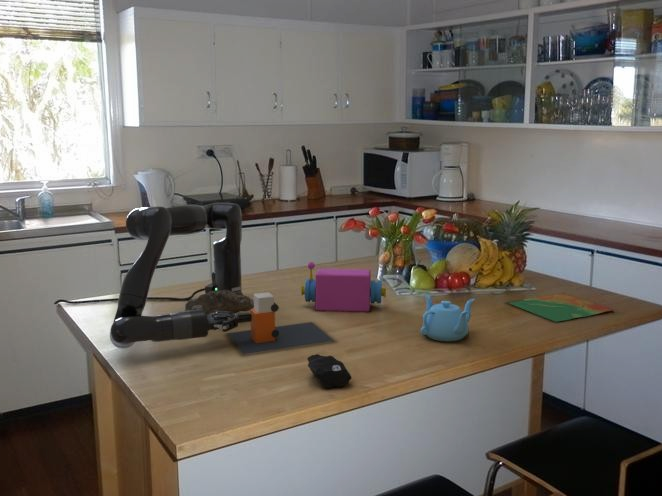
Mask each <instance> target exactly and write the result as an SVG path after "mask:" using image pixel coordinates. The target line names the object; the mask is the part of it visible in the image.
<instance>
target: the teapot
mask: <svg viewBox="0 0 662 496" xmlns="http://www.w3.org/2000/svg"><path fill="white" fill-rule="evenodd" d="M424 297H425V299H426V308H425V312H424V313H423V314H422V327H421V328H420V334H421V335H424V336H426V337H428V338H429V339H430V340H434V341H439V342H456V341H461V340H462V339H464V338H465V337H466V336H467V335H468V333H469V322H470V320H471V316H472V315H471V314H472V313H471V312H472V311H471V310H472V304H473V302H474V301H475V299H476V298H473V297H472V298H470V299H469V300H467V302H466V303H465V305H464V309H463V310H462V309H461V308H460V306H459V305H457V304H453V303H452V302H451V301H450V300H442V301H441V302H440V303H435V304H434V303H433V300H432V298H431V296H430V295H428V294H427V293H425V294H424Z"/></svg>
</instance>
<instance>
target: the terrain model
mask: <svg viewBox="0 0 662 496" xmlns="http://www.w3.org/2000/svg"><path fill="white" fill-rule="evenodd" d="M508 304H509V305H511V306H514V307H517V308H519V309H522V310H524V311H526V312H530V313H532V314H535V315H537V316H540V317H542V318H545V319H547V320H549V321H552V322H557V323H559V322H562V321H570V320H572V319H576V318H586V317H591V316H593V315H598V314H602V313H606V312H611V311H615V308H611V307H608V306H605V305H603V304H599V303H596V302H593V301H589V300H586V299H584V298H582V297H579V296H578V297H577V296H575V295H571V294H569V293H566V292H560V293H554V294H547V295H541V296H535V297H531V298H524V299H522V300H517V301H510V302H508Z"/></svg>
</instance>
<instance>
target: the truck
mask: <svg viewBox="0 0 662 496" xmlns="http://www.w3.org/2000/svg"><path fill="white" fill-rule="evenodd" d="M253 302H254V308H253V309H250V310H249V311H250V312H249V313H250V314H251V315H252V321H251V322H250V330H251V338H252V339H253V341H254V342H255V343H263V342H270V341H275V337H277V336H278V335H279V331H278V330H277V329H276V328H275V327H276V312H278V310H279V308H280V307H279V305H278V303H276V302H275V297H274V295H273V294H271V292H269V291H267V292H258V293H253Z"/></svg>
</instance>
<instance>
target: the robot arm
mask: <svg viewBox="0 0 662 496" xmlns="http://www.w3.org/2000/svg"><path fill="white" fill-rule="evenodd" d="M125 229H126V231H127V233H128V234H129V235H130V236H131V237H132V238H133V239H135V240H139V241H146V245H145V246H144V249H143V251H142V252H141V253H140V255H139V257H138V258H137V259H136V261H135V262H134V263H133V264H132V265H131V267H130V268H129V269H128V271H127V272H126V274H125V276H124V277H123V281H122V284H121V287H120V291H119V295H118V297H116V298H115V297H114V298H102V299H101V298H100V299H89V300H73V301H72V300H67V299H58V300H56V301H55V302H54V303H53V305H57V304H59V303H66V304H71V305H74V304H76V305H78V304H89V303H102V302H103V303H105V302H117V308H116V312H115V315H114V318H113V321H112V324H111V326H110V330H109V340H110V343H111V344H112V345H113V346H114V347H116V348H118V349H121V350H122V349H124V350H125V349H128V348H130V347H132V346H133V345H134V344H135V343H137V342H138V343H139V342H140V343H141V342H149V341H150V342H153V343H160V342H169V341H184V340H191V339H192V340H193V339H200V338H206V337H208V335H209V331H210V330H211V331H212V330H213V331H221V330H222V331H221V332H223V333H226V332H229V331H231V330H234V329H235V328H238V327H239V324H243V323H251V321H252V315H251V314H250V312H243V313H241V312H240V313H238V312H237V313H233V312H230V311H218V310H214V311H213V313H212V314H208V315H207V314H206V311H205V310H204V309H198V310H190V311H184V310H182V311H177V312H172V313H165V314H164V313H163V314H158V315H143V311H144V310H145V307H146V303H147V300H149V301H150V300H153V301H154V300H158V301H161V300H163V301H165V300H168V301H189V300H190V299H194V298H195V296H196V294H198V293H200V292H204V294H206V293H208V292H210V291H214V290H216V291H217V290H219V291H220V290H230V291H233V292H241V293H242V294H243V286H242V285H243V284H242V283H243V282H242V253H241V245H242V231H243V212H242V209H241V206H240V205H239V204H238V203H233V202H212V203H208V204H205V205H199V204H182V205H175V206H169V207H165V206H159V205H158V206H142V207H137V208H134V209H133V210H131V211H130V212H129V214H128V215H127V217H126V219H125ZM205 229H210V230H219V231H225V237H223V238H220V239H216V240H214V242H213V243H212V252H213V253H212V254H213V255H212V257H213V271H212V272H211V282H210V283H209V284H207V285H205V286H204V287H203V288H200V289H197V290H196V291H194V292H193V293H192V294H191V295H190V296H188V297H182V298H179V297H172V296H171V297H170V296H162V297H161V296H149V295H148V294H149V291H150V287H151V283H152V279H153V278H154V274H155V271H156V269H157V266H158V264H159V262H160V260H161V257H162V255H163V252H164V250H165V247H166V244H167V242H168V239H169V237H170V236H189V235H190V236H191V235H196V234H200V233H202V232H203V231H204V230H205Z"/></svg>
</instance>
